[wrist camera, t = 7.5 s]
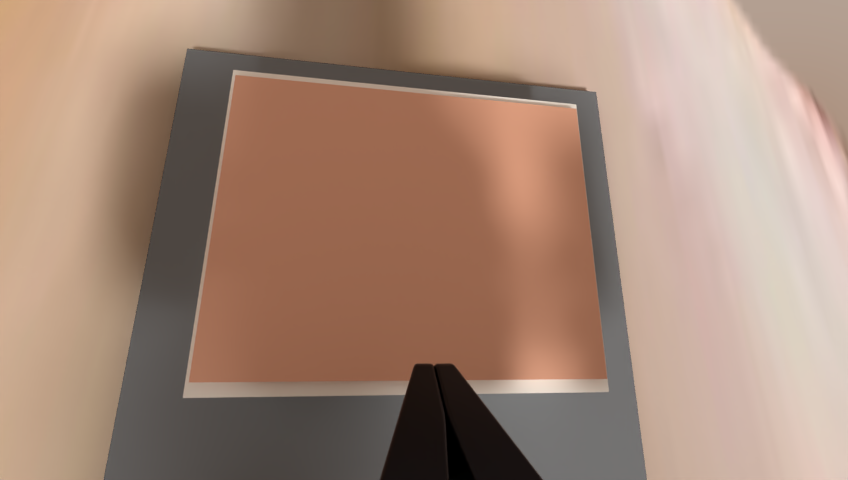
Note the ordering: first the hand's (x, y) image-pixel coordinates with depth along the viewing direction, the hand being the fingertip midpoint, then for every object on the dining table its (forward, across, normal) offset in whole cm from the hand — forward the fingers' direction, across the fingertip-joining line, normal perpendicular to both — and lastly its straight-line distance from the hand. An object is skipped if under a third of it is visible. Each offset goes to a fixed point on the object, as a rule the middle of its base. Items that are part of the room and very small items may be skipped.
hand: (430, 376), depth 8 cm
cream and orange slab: (+3, 0, +4) cm, 5 cm away
